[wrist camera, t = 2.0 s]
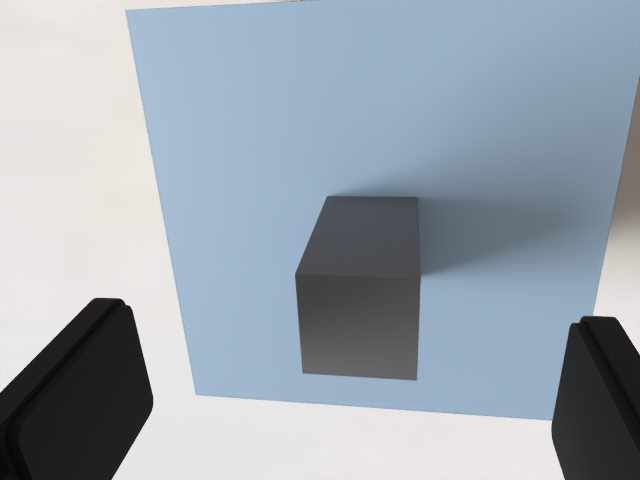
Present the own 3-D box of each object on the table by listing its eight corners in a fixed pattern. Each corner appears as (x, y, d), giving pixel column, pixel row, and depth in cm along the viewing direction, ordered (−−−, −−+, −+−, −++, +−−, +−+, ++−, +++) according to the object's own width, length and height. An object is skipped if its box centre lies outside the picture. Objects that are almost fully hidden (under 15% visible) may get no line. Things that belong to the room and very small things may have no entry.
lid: (645, -17, 15) (795, -24, 9) (565, 406, 21) (624, 561, 15) (137, 9, 17) (0, 17, 11) (202, 382, 23) (135, 507, 18)
